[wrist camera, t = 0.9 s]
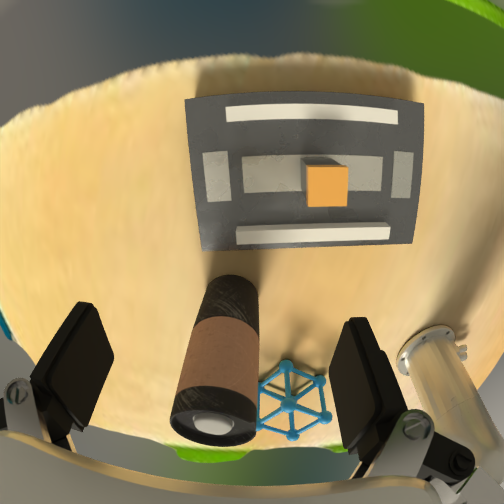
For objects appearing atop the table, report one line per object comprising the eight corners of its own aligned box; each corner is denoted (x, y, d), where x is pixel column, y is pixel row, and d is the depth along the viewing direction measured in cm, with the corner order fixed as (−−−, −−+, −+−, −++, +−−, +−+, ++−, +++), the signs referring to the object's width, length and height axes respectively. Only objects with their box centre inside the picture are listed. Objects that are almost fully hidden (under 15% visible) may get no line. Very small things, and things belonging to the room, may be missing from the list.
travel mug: (193, 299, 39) (154, 426, 21) (224, 261, 36) (194, 398, 18) (238, 326, 41) (225, 453, 23) (271, 293, 38) (276, 430, 20)
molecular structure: (327, 374, 46) (336, 421, 37) (291, 400, 50) (293, 444, 41) (284, 354, 43) (288, 406, 34) (248, 383, 47) (246, 430, 38)
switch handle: (332, 157, 25) (348, 167, 20) (331, 189, 27) (346, 206, 22) (299, 157, 25) (308, 167, 21) (299, 189, 27) (308, 206, 22)
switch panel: (406, 103, 26) (430, 103, 21) (398, 230, 33) (417, 248, 28) (194, 101, 27) (180, 98, 22) (208, 236, 34) (199, 257, 29)
